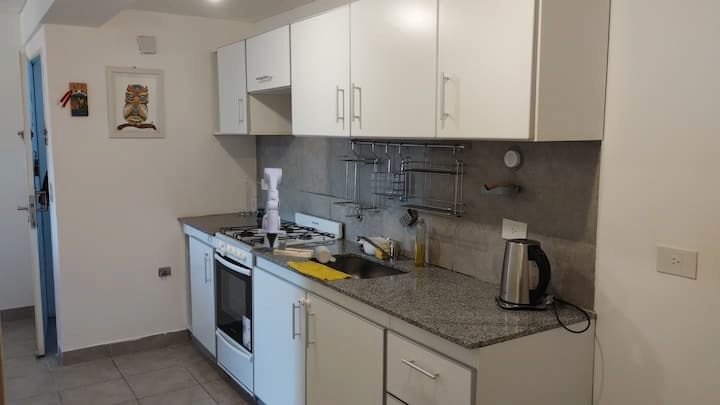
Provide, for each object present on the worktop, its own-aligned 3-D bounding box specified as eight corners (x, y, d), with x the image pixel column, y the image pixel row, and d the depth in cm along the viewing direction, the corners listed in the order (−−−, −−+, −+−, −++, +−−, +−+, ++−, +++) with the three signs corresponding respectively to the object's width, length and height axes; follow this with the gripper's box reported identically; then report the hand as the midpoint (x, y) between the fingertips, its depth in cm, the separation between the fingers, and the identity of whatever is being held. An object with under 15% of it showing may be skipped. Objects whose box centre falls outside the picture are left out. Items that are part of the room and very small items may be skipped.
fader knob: (280, 248, 313) (280, 240, 313) (286, 248, 313) (286, 241, 312) (278, 249, 309) (279, 242, 309) (284, 250, 309) (284, 242, 308)
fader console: (277, 250, 316) (277, 247, 316) (313, 253, 314) (313, 249, 314) (273, 254, 307) (273, 250, 307) (310, 257, 306) (310, 253, 305)
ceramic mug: (317, 263, 294) (318, 249, 293) (313, 259, 302) (314, 245, 301) (337, 263, 297) (338, 249, 296) (333, 259, 305) (334, 245, 304)
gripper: (257, 222, 306) (256, 247, 308) (284, 224, 305) (283, 249, 307) (260, 220, 313) (259, 244, 315) (287, 222, 312) (286, 246, 314)
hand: (271, 247), depth 311 cm, fingers closed
